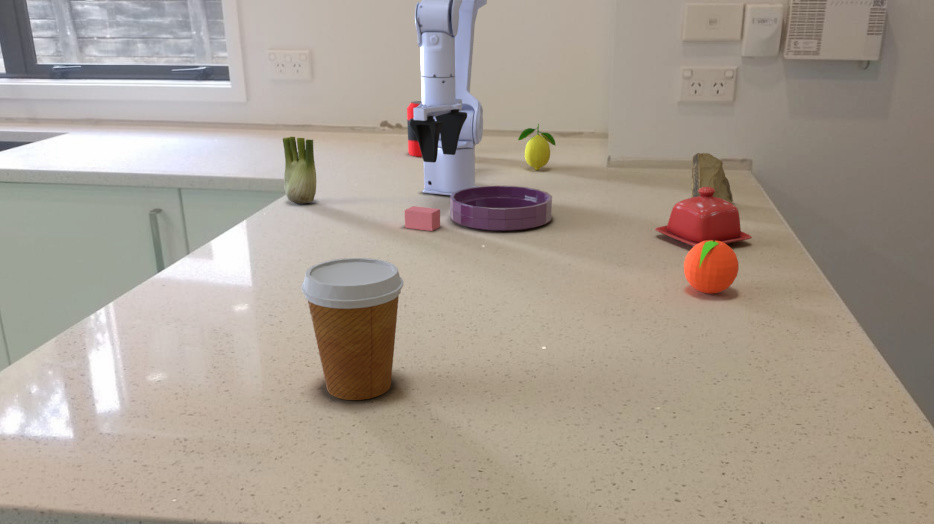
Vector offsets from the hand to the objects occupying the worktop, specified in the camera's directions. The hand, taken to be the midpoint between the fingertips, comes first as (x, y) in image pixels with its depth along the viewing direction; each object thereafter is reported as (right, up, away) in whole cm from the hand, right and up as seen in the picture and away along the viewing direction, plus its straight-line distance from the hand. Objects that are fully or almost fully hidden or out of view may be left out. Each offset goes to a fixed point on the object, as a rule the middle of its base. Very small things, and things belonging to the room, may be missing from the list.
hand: (439, 158), depth 145 cm
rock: (+49, -8, +8) cm, 51 cm away
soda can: (-8, +12, +54) cm, 56 cm away
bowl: (+11, -11, -2) cm, 15 cm away
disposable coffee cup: (-3, -36, -62) cm, 72 cm away
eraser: (-2, -13, -7) cm, 15 cm away
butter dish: (+42, -16, -12) cm, 47 cm away
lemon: (+18, +5, +38) cm, 42 cm away
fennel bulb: (-26, -7, +8) cm, 28 cm away
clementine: (+38, -25, -36) cm, 58 cm away
